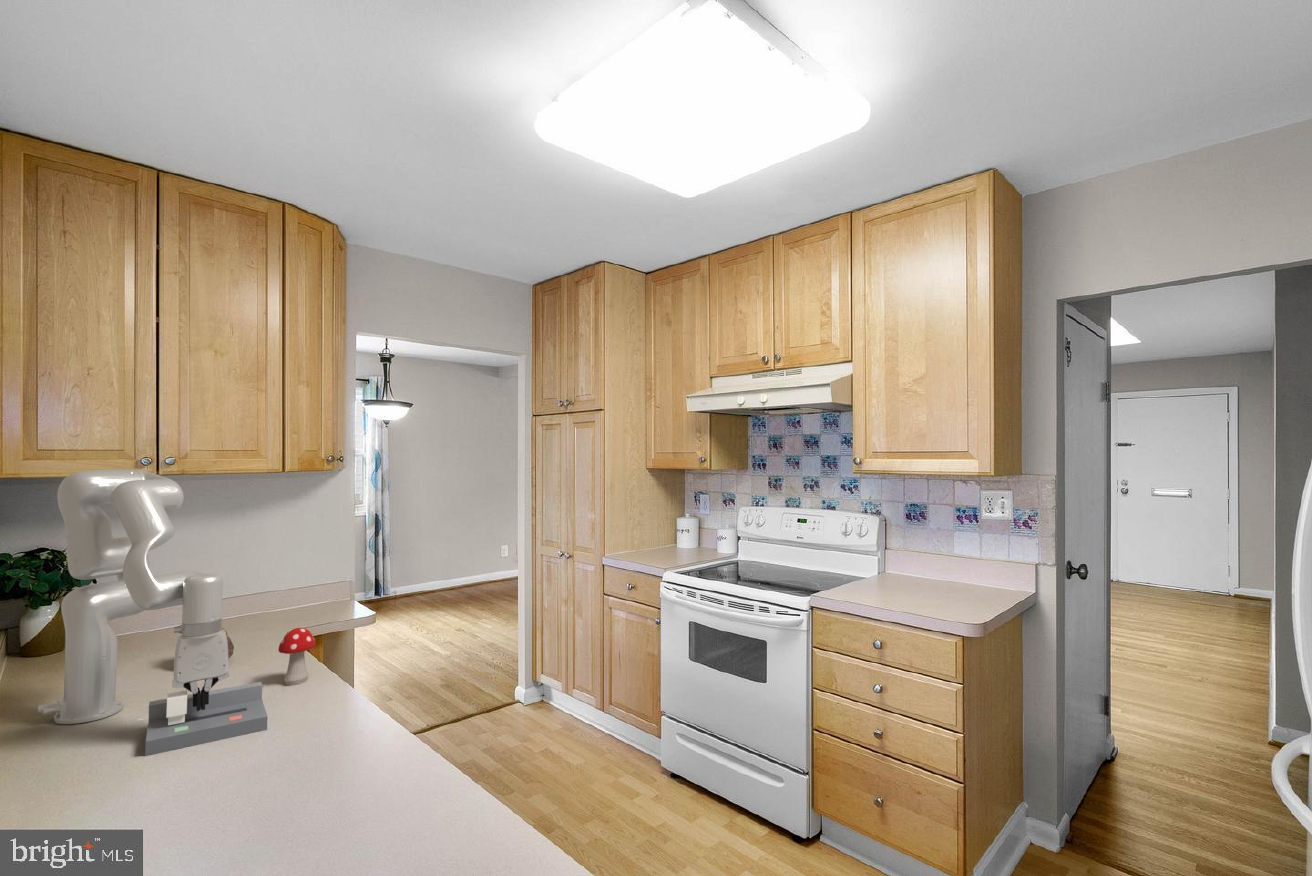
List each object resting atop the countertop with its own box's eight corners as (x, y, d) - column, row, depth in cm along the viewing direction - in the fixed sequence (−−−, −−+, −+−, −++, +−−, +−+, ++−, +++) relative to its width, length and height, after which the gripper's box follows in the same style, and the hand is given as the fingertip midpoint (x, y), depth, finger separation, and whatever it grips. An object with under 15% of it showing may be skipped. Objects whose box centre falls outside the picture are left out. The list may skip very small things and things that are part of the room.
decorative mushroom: (296, 689, 171) (297, 633, 172) (269, 686, 173) (270, 631, 174) (322, 676, 181) (323, 624, 182) (296, 674, 183) (297, 622, 183)
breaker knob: (166, 726, 139) (167, 699, 139) (166, 720, 143) (167, 693, 143) (186, 722, 141) (187, 695, 142) (186, 716, 145) (187, 690, 145)
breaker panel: (145, 755, 132) (146, 724, 133) (148, 729, 145) (149, 701, 145) (267, 729, 146) (267, 700, 146) (260, 707, 158) (261, 681, 159)
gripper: (161, 637, 138) (159, 722, 137) (242, 626, 147) (240, 705, 146) (161, 630, 144) (159, 711, 143) (239, 619, 153) (237, 696, 152)
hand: (200, 708), depth 145 cm, fingers closed
